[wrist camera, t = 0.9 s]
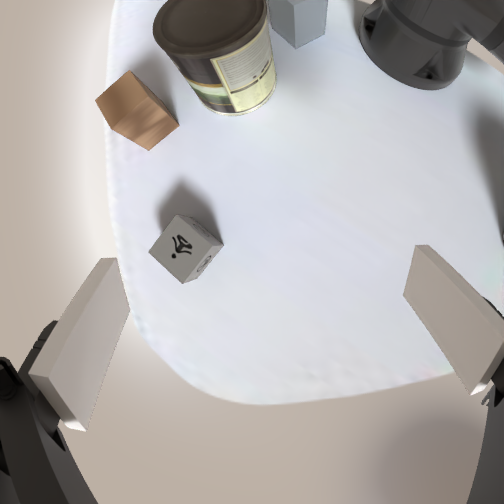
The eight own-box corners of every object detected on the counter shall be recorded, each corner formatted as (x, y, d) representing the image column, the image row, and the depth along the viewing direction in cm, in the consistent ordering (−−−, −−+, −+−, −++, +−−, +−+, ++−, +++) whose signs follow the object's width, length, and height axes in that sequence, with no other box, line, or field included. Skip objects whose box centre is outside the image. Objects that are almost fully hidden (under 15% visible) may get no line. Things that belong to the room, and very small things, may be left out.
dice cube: (224, 245, 35) (212, 245, 30) (197, 278, 35) (182, 284, 30) (192, 217, 35) (176, 214, 30) (166, 250, 36) (148, 252, 31)
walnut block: (161, 100, 35) (129, 70, 26) (179, 125, 35) (148, 96, 26) (132, 125, 36) (95, 100, 27) (148, 150, 36) (111, 128, 27)
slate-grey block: (300, 14, 32) (299, -29, 23) (324, 34, 32) (328, -10, 23) (272, 28, 33) (265, -15, 24) (295, 49, 33) (293, 5, 24)
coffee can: (196, 122, 35) (146, 66, 21) (197, 57, 34) (157, -8, 21) (281, 112, 33) (271, 44, 19) (273, 46, 33) (261, -29, 19)
